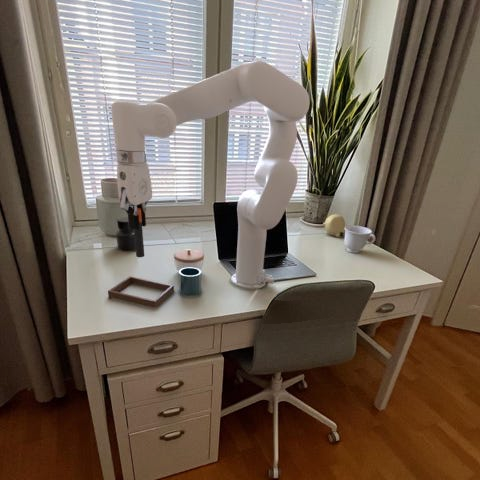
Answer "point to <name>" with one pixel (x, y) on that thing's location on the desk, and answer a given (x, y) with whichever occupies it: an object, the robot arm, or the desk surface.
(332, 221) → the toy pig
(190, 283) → the pen cup
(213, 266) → the desk surface
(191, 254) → the trinket box
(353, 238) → the teacup
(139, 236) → the marker
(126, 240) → the ink bottle
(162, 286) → the desk tray
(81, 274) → the desk surface
